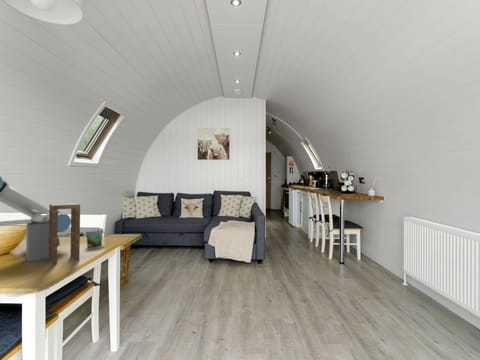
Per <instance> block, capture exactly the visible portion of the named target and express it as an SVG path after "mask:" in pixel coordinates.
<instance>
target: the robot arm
mask: <svg viewBox="0 0 480 360" xmlns="http://www.w3.org/2000/svg"><path fill="white" fill-rule="evenodd" d="M0 202H1V203H2V204H4V205H6V206H8V207H10V208H12V209H14V210H15V211H18V212H19V213H21V214H24V215H26V216H28V217H29V218H31V215H35V214H49V208H48V207H46V206H45V205H43V204H41V203H40V202H38V201H36V200H34V199H33V198H31V197H29V196H27V195H25V194H24V193H22V192H20V191H18V190H16V189H15V188H13V187H12V186H9V181H7V180H6V179H4V178H3V177H2V176H1V175H0ZM69 228H71V215H70V216H69V214H68V213H63V212H60V211H59V210H58V231H57V246H59V245H60V244H61V243H60V242H61V240H60V238H59V235H58V233H64V232H66V231H67V230H68V229H69Z"/></svg>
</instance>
